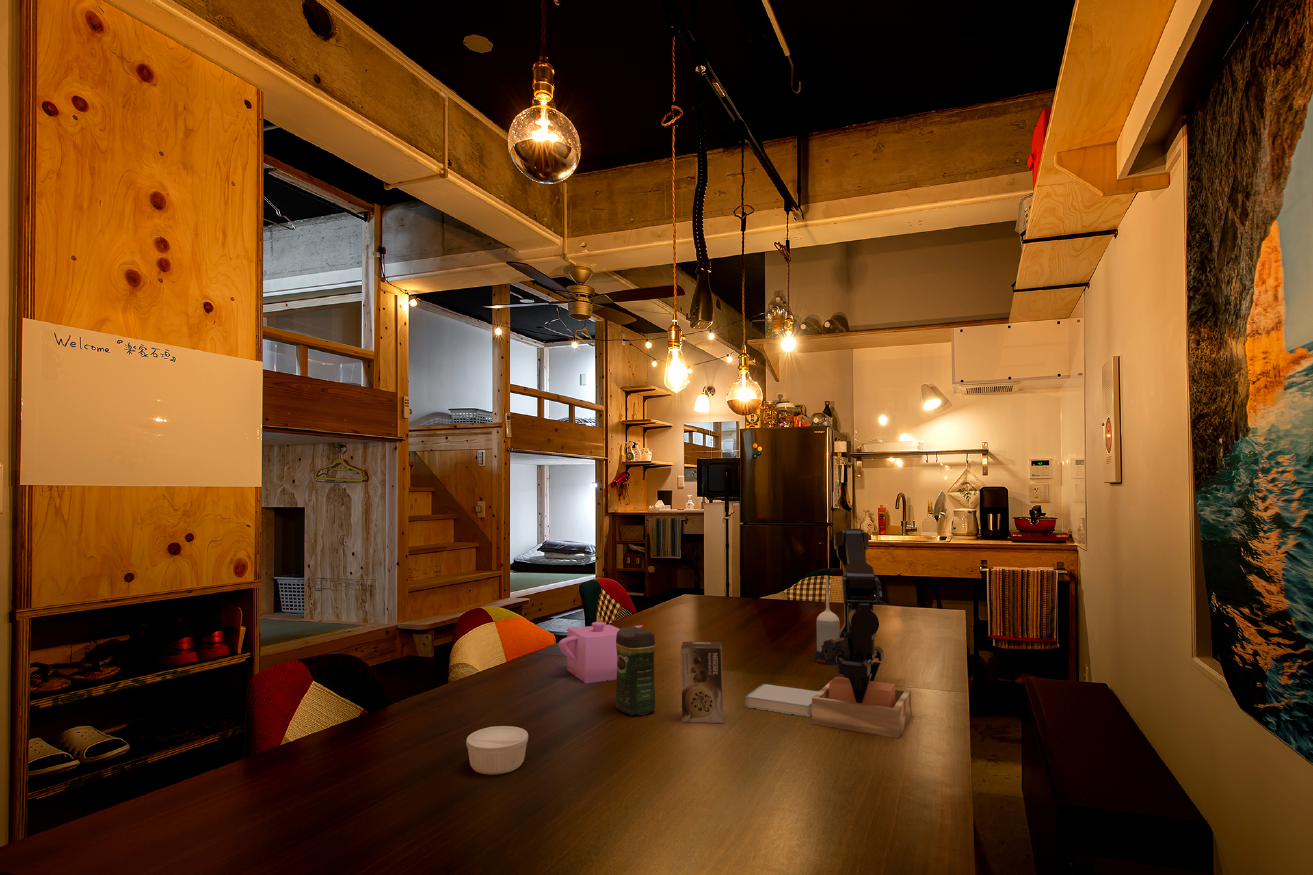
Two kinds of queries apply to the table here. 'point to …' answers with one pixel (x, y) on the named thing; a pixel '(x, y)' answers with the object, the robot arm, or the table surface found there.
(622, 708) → the coffee jar
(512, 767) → the ramekin
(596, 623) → the teapot
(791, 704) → the book pile base
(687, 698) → the coffee box
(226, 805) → the table surface
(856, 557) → the robot arm
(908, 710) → the shelf tray
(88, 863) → the table surface
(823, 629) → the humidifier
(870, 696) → the terracotta rectangular block
